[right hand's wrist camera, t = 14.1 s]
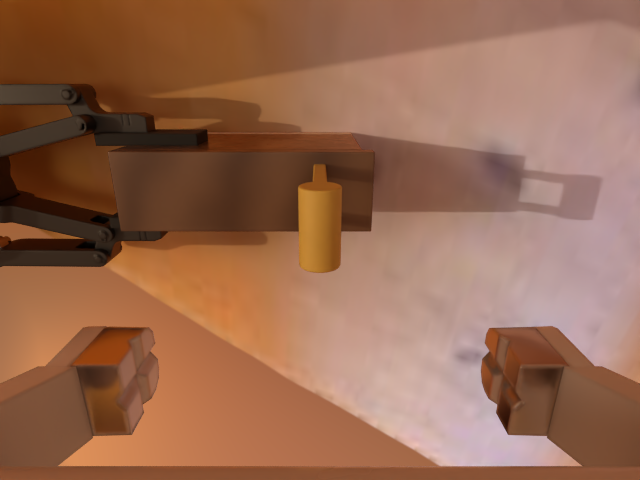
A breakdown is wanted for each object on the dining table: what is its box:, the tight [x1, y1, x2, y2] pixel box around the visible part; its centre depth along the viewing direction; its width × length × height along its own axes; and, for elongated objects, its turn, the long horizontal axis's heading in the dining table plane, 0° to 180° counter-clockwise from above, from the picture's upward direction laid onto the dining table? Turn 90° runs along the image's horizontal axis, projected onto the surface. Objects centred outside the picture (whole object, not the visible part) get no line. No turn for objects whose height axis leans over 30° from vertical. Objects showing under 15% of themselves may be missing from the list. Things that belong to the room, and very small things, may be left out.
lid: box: [108, 149, 375, 273], centre depth 22 cm, size 16×5×8 cm, turn 90°
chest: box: [119, 132, 362, 150], centre depth 31 cm, size 15×5×10 cm, turn 90°
